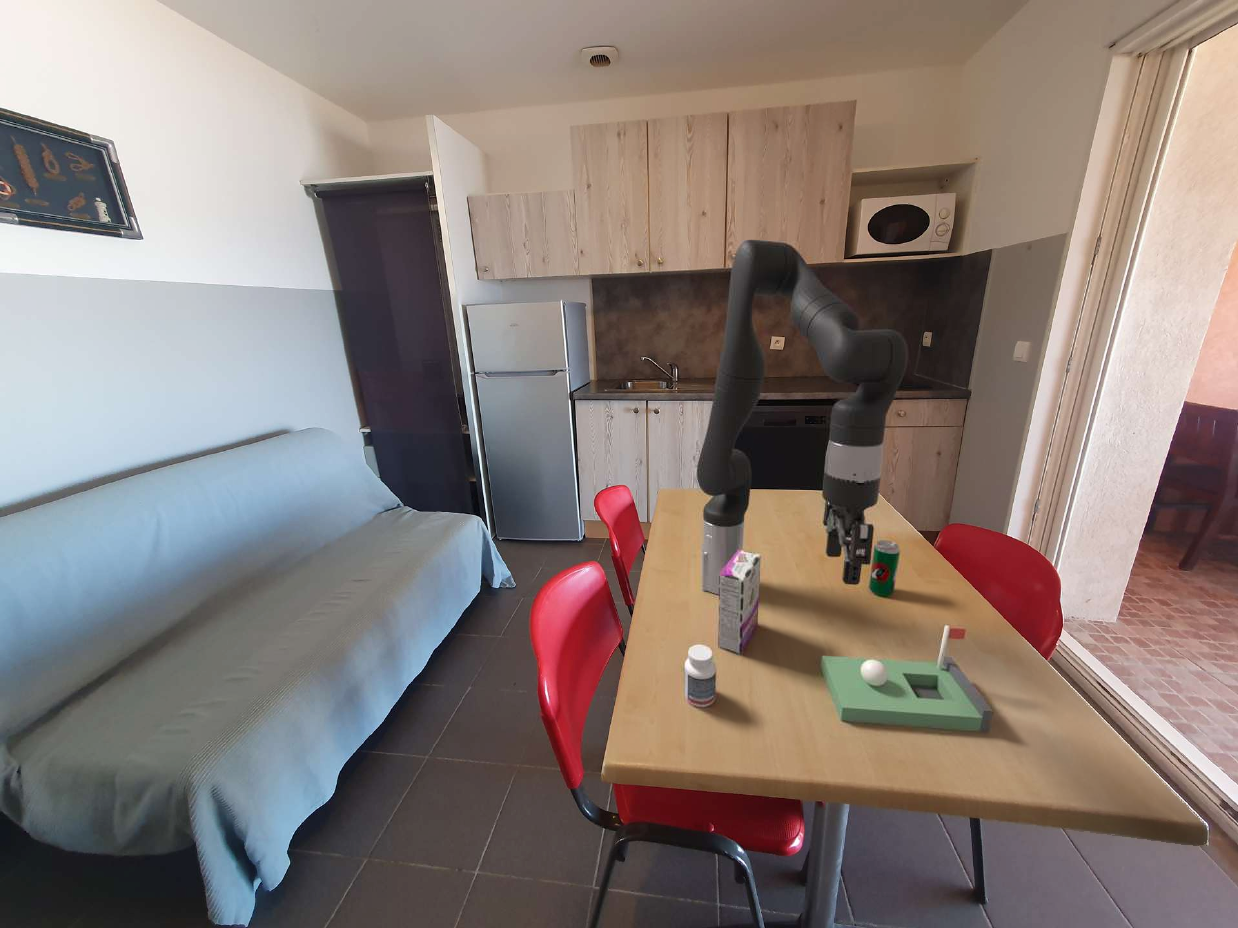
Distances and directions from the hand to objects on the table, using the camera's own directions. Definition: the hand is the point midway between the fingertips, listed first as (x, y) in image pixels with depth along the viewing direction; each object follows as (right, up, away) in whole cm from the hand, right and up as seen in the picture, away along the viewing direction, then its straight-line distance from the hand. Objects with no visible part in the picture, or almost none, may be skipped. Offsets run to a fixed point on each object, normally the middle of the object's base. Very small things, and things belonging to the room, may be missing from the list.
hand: (841, 568), depth 75 cm
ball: (+7, -18, +4) cm, 20 cm away
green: (+11, -22, +5) cm, 26 cm away
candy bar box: (-11, -18, +22) cm, 31 cm away
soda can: (+25, -13, +35) cm, 45 cm away
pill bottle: (-21, -23, +7) cm, 32 cm away
